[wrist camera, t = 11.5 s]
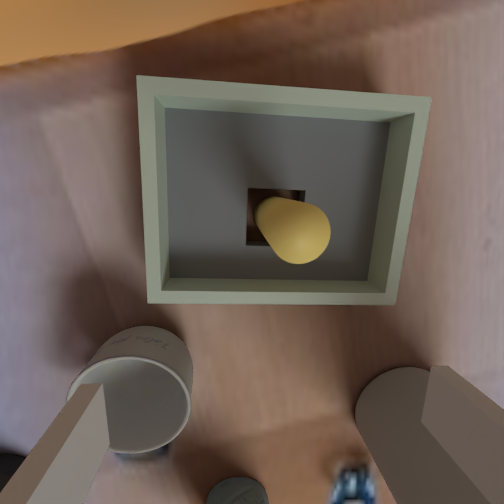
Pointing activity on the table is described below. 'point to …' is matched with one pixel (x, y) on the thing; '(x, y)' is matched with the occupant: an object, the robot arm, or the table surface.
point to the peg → (293, 228)
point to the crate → (275, 177)
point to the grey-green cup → (238, 492)
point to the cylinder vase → (409, 442)
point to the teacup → (142, 387)
